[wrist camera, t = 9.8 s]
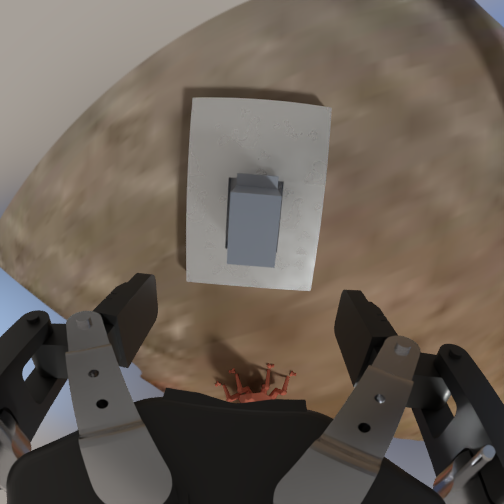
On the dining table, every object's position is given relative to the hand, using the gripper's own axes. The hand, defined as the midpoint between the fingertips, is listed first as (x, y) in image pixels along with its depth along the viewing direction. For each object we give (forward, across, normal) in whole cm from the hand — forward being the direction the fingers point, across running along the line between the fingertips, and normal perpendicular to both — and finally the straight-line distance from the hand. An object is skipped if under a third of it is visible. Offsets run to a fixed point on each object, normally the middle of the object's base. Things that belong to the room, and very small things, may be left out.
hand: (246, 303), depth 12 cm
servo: (+20, 0, 0) cm, 20 cm away
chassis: (+20, 0, -2) cm, 20 cm away
